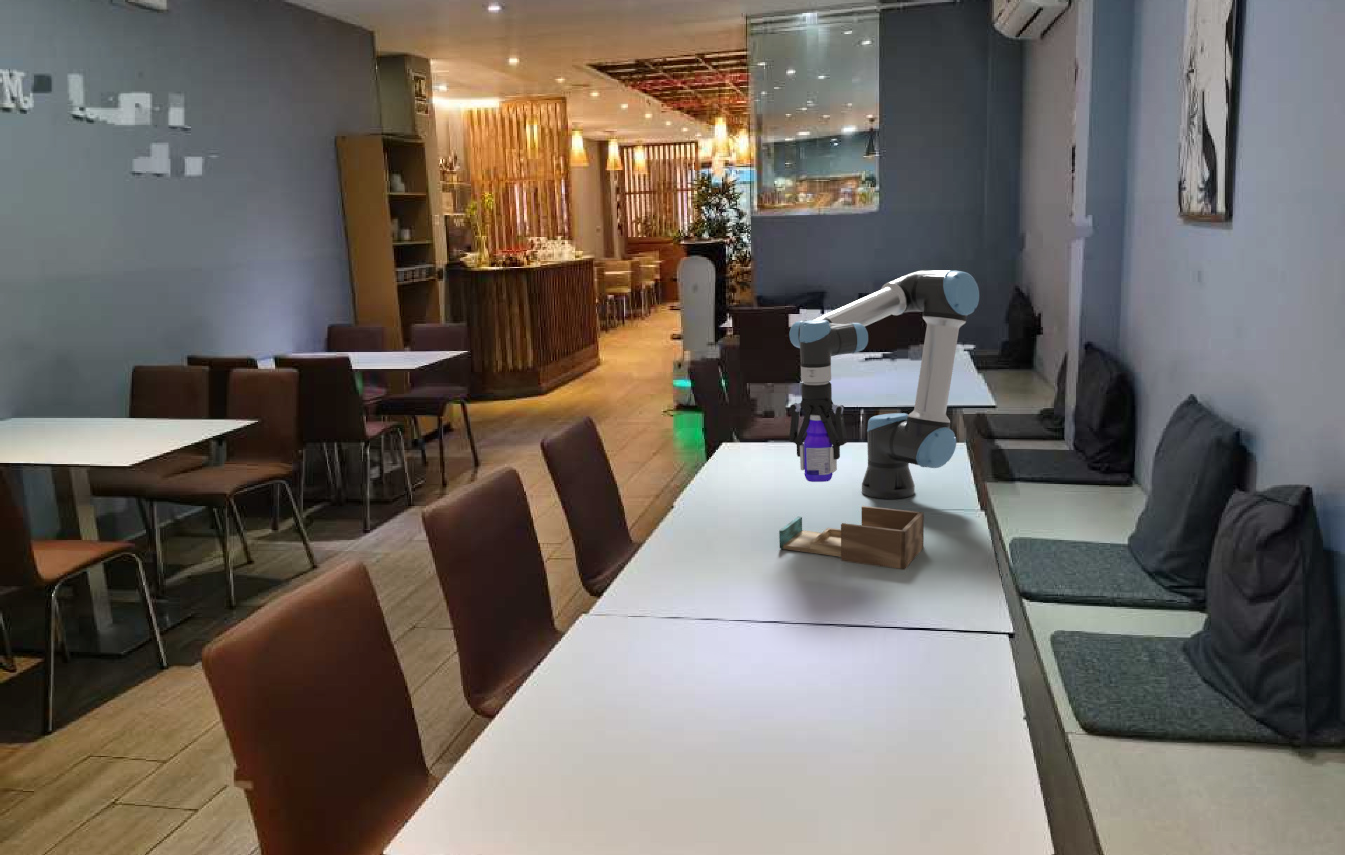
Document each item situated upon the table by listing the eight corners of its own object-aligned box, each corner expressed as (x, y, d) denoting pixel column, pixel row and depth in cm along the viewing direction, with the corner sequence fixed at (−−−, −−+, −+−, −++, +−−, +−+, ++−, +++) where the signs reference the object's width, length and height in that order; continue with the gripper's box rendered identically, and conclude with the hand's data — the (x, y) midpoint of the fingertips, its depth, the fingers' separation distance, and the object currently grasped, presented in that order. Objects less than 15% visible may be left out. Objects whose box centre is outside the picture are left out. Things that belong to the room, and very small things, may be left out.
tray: (798, 533, 248) (798, 516, 247) (879, 543, 238) (879, 525, 237) (779, 548, 238) (779, 530, 237) (862, 559, 227) (862, 541, 226)
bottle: (832, 476, 250) (830, 411, 247) (833, 482, 245) (832, 415, 241) (804, 477, 251) (802, 412, 247) (805, 483, 246) (802, 416, 242)
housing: (862, 540, 242) (862, 505, 240) (923, 547, 234) (923, 512, 233) (841, 560, 228) (840, 524, 226) (904, 569, 221) (904, 531, 219)
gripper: (773, 383, 244) (776, 470, 249) (849, 386, 234) (851, 477, 239) (784, 378, 251) (787, 463, 256) (859, 380, 241) (861, 469, 246)
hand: (818, 469), depth 248 cm, fingers closed on bottle, 7 cm apart
